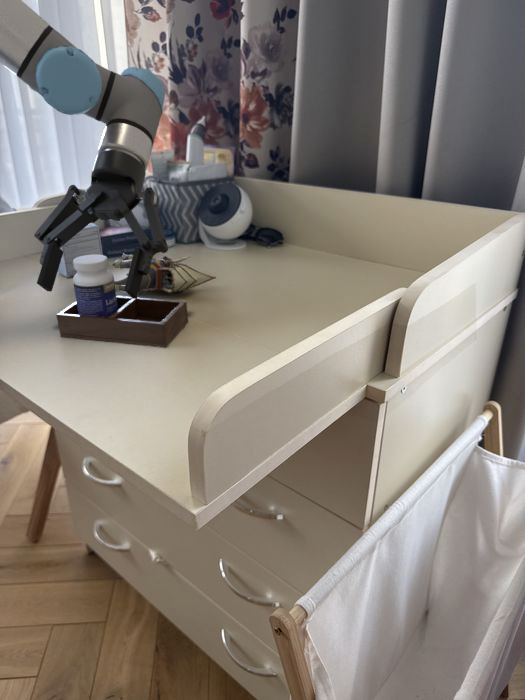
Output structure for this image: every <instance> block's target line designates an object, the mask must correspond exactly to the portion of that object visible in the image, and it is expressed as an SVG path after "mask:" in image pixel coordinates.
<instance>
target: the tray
mask: <svg viewBox="0 0 525 700" xmlns="http://www.w3.org/2000/svg"><path fill="white" fill-rule="evenodd" d="M116 297H117V304H118V310H117V311H116V312H115V313H114V314H112V315H111V316H110V317H109V318H108V317H97V316H86V315H79V314H78V308H77V302H76V301H74V302H73V303H71V304H70V305H67V307H66V308H63V310H61V311H60V312H58V313H56V315H55V316H56V320H57V325H58V330H59V335H60V338H68V339H69V338H70V339H79V340H90V341H99V342H109V343H118V344H128V345H136V346H137V345H138V346H147V345H150V346H149V347H156V346H160V347H159V348H167V347H168V346H169V345H170V344H171V343H172V341H174V339H175V338H176V337H177V336H178V335H179V334H180V333H181V332H182V331H183V330H184V328H186V326H187V325H188V324H189V316H188V315H189V314H188V303H187V301H186V300H173V299H161V298H149V297H137V298H132V297H131V296H124V295H116ZM187 323H188V324H187ZM186 324H187V325H186ZM185 325H186V326H185ZM170 342H171V343H170ZM169 343H170V344H169ZM168 344H169V345H168ZM167 345H168V346H167Z"/></svg>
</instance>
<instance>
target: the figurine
mask: <svg viewBox="0 0 525 700" xmlns="http://www.w3.org/2000/svg"><path fill="white" fill-rule="evenodd" d="M191 256H192V254H188V255H187V256H184V257H181V258H179V259H175V260H173V259H172V258H170V257H168V256H167V255H163V257H162V258H159V259H156V258H155V257H153V259H152V263H151V267H150V271H149V273H148V275H143V277H142V281H141V285H140V289H139V293H141V292H143V291H144V292H146V291H148V290H150V291H151V292H154V291H160V290H161V291H163V292H166V293H168V294H173V293H182V292H184V291H187V290H189V289H192V288H195V287H197V286H200V285H203V284H205V283H208V282H210V281H212V280H215V279H217V278H216V276H211V275H209V274H206V273H203V272H201V271H198V270H197V269H194V268H193V267H191V266H189V265H188V264H184V263H182V262H183V261H186V262H188V261H189V259H190V258H191ZM132 258H133V254H125V252H122V255H121V258H120V259H116V260H115V261H114V262H112V263H111V266H113V267H114V268H115V269H130V266H131V262H132ZM128 273H129V272H127V273H126V274H125V276H126V277H124V278H122V279H119V280H114V283H115V290H116V293H119V292H126V291H125V290H124V289H125V285H126V281H127V277H128Z"/></svg>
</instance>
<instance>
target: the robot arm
mask: <svg viewBox="0 0 525 700" xmlns="http://www.w3.org/2000/svg"><path fill="white" fill-rule="evenodd" d="M0 64H1V65H2V66H3V67H4V68H6V69H7V70H8V71H10V72H11V73H12V74H14V75H15V76H16V77H17V78H19V79H20V81H22V82H23V83H25V84H26V85H27V86H28V88H29V89H30V90H31V91H33V92H34V93H37V94H38V95H40V97H42V98H43V100H44V101H45V102H46V104H48V105H49V106H50V107H52V108H53V109H55V110H56V111H57V112H59V113H61V114H63V115H68V116H77V115H85V116H87V117H89V118H91V119H94V120H95V121H97V122H101V123H102V124H104V125H105V126H104V130H103V133H102V136H101V139H100V142H99V146H98V149H97V155H96V157H95V160H94V164H93V166H92V171H91V174H90V175H91V176H90V185H89V187H87V188H86V189H81V188H78V187H77V185H75V184H71V185H69V187H68V189H67V191H66V194H65V195H64V197H63V199H62V200H61V201H60V202H59V203H58V204H57V206H56V207H55V208H54V209H53V211H52V212H51V213H50V214H49V215H48V217H47V218H46V219H45V220H44V221H43V222H42V224H41V225H40V226H39V228H38V229H37V230H36V231H35V232H34V237H35V239H37V240H38V242H40V243H41V244H42V245H43V247H42V250H41V251H42V252H41V254H40V258H39V265H41V267H40V271H39V274H38V278H37V281H36V284H37V285H39V287H41V288H42V289H44V290H45V291H46V292H53V289H54V285H55V282H56V278H57V275H58V273H59V272H58V269H59V265H60V262H61V259H62V255H63V251H62V250H61V249H60V248H61V247H62V246H63V245H64V244H65V243H67V242H68V241H69V240H70V239H71V238H73V237H74V236H75V235H76V234H77V233H79V232H80V231H81V230H82V229H84V228H85V227H86V226H87V225H88V224H90V223H93V224H95V223H96V222H97V221H98V220H100V221H109V220H111V221H115V222H120V221H121V220H122V219H125V221H126V223H127V225H128V226H129V228H130V229H131V232H132V233H133V235H134V236H135V238H136V240H137V242H138V243H139V245H140V247H134V250H133V254H132V255H133V258H132V262H131V266H130V268H129V269H128V272H127V273H128V276H126V277H127V281H126V285H124V286H125V289H124V290H125V291H124V292H125V293H126V294H128V296H129V297H132V298H137V297H138V296H139V294H140V292H139V289H140V285H141V281H142V277H143V275H148V273H149V271H150V267H151V263H152V259H153V258H154V256H155V255H156V254H158V253H162V254H166V253H167V252H168V251H169V246H168V243H167V238H166V234H165V232H164V227H163V225H162V220H161V217H160V214H159V210H158V209H159V201H160V200H159V197H158V195H157V194H156V192H155V190H154V189H153V188H152V187H146V189H145V190H144V191H143V186H144V183H145V179H146V175H147V174H146V173H147V172H146V171H147V169H148V166H149V162H150V158H151V155H152V150H153V148H154V143H155V140H156V136H157V133H158V129H159V126H160V122H161V118H162V116H163V112H164V111H163V109H164V103H165V97H166V90H165V87H164V84H163V82H162V80H161V79H160V78H159V77H158V76H157V75H156V74H155V73H153V72H152V71H151V70H149V69H147V68H144V67H142V68H138V67H137V66H130V67H127V68H125V69H123V70H122V72H121V73H120V74H119V73H118V72H115V71H113V70H109V69H107V68H106V67H104V66H102V65H100V64H98V63H96V62H95V61H94V60H93V58H92V57H90V56H89V55H88V54H87V53H86V52H84V51H83V50H82V49H80V48H77V47H76V46H75V45H74V44H73V43H72V42H71V41H69V40H68V39H67V37H65V36H63V35H62V34H61V32H59V31H58V30H56V29H55V28H53V27H52V26H51V25H50V23H48V22H47V21H46V20H45V19H44V18H43V17H42V16H40V15H39V14H38V13H37V12H35V11H34V10H33V9H32V8H31V7H30V6H29V5H27V3H25V2H24V1H23V0H0ZM140 203H141V204H142V206H143V207H144V209H145V213H146V217H147V221H148V225H149V228H150V232H151V236H152V240H150V239H149V238H148V236H147V235H146V233H145V231H144V229H143V227H142V226H141V225H140V223H139V220H138V219H137V217H136V216H135V214H134V213H133V210H134V209H135V208H136V207H137V206H138V205H140ZM89 209H90V210H91V212H92V213H90V212H89ZM55 239H57V240H55ZM138 298H139V297H138Z"/></svg>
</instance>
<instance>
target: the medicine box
mask: <svg viewBox="0 0 525 700" xmlns="http://www.w3.org/2000/svg"><path fill="white" fill-rule="evenodd" d="M55 240H57V239H55ZM102 246H103V245H102V240H101V233H100V227H99V225H97V224H96V223H90V224H88V225H87V226H86V227H85V228H84V229H82V230H81V231H80V232H79V233H77V234H76V235H75V236H74V237H73V238H71V239H70V240H69V241H68V242H67V243H65V244H64V245H63V246H62V247H61V248H60V249H61V250H62V251H63V255H62V259H61V262H60V265H59V269H58V272H57V273H58V274H60V275H62V276H63V277H65V278H72V277H74V276H75V274H77V271H76V270H75V269H74V263H73V260H74V259H75V258H77V257H80V256H84V255H104V254H103V247H102Z"/></svg>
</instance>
